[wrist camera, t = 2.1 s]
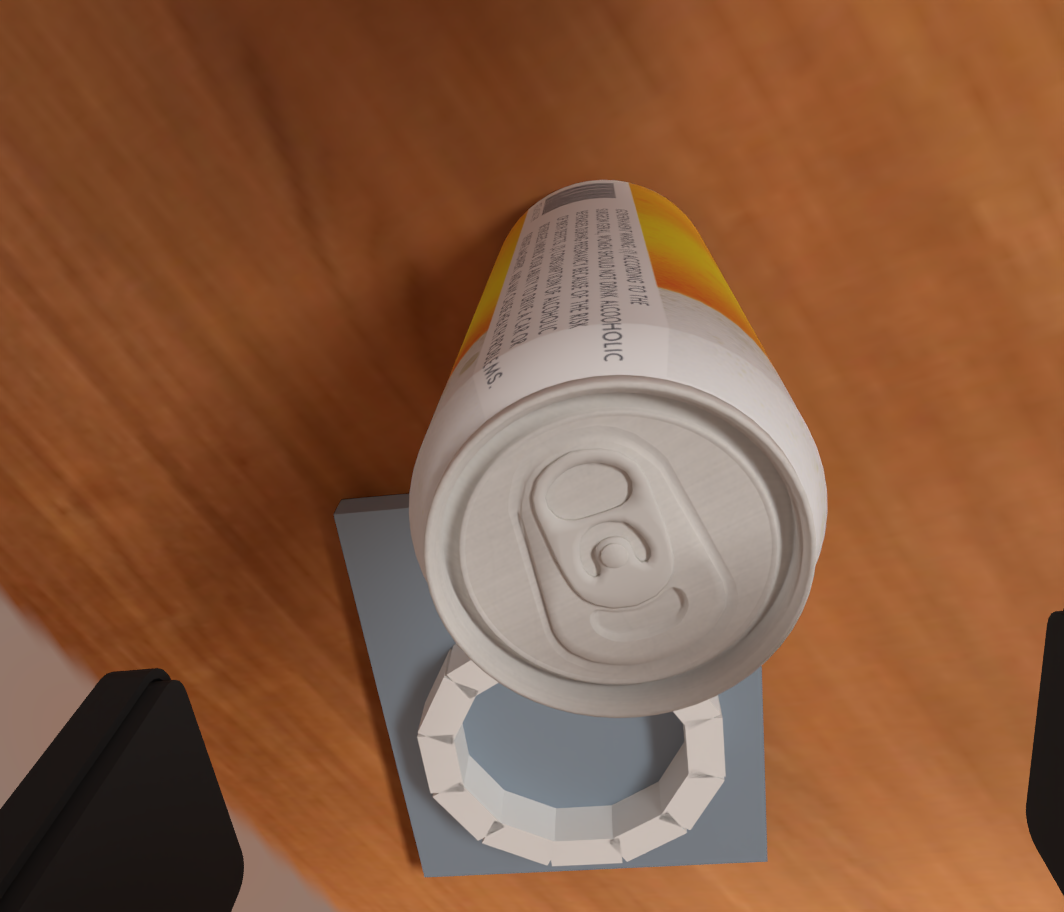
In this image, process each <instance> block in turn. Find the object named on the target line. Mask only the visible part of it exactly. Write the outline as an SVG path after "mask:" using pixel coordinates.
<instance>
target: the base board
mask: <svg viewBox="0 0 1064 912" xmlns="http://www.w3.org/2000/svg"><path fill="white" fill-rule="evenodd" d="M334 519H335V523H336V527H337V531H338V535H339V539H340V543H341V546H342V550H343V554H344V558H345V562H346V566H347V570H348V574H349V578H350V582H351V586H352V590H353V594H354V598H355V602H356V606H357V610H358V614H359V618H360V622H361V626H362V630H363V634H364V638H365V642H366V646H367V650H368V654H369V658H370V662H371V666H372V670H373V674H374V678H375V682H376V686H377V690H378V694H379V698H380V702H381V706H382V709H383V713H384V717H385V721H386V725H387V729H388V733H389V737H390V741H391V745H392V749H393V753H394V757H395V761H396V765H397V769H398V773H399V777H400V781H401V785H402V789H403V793H404V797H405V801H406V805H407V809H408V813H409V817H410V821H411V825H412V829H413V833H414V837H415V841H416V845H417V849H418V853H419V857H420V861H421V865H422V868H423V872H424V876H425V877H442V876H464V875H485V874H507V873H529V872H550V871H572V870H593V869H615V868H637V867H658V866H680V865H701V864H723V863H745V862H766V861H767V831H766V799H765V766H764V733H763V700H762V667H761V666H760V667H759V668H758V669H757V670H756V671H754V672H753V673H752V674H751V675H749V676H748V677H747V678H745V679H744V680H742V681H741V682H739V683H738V684H737V685H735V686H733V687H732V688H730V689H728V690H726V691H724V692H722V693H721V694H719V695H717V696H715V697H713V698H710V699H708V700H706V701H703V702H701V703H699V704H696V705H693V706H689V707H686V708H683V709H680V710H677V711H672V712H668V713H663V714H658V715H651V716H643V717H631V718H608V717H593V716H587V715H580V714H574V713H570V712H566V711H562V710H558V709H554V708H551V707H548V706H545V705H542V704H540V703H537V702H534V701H532V700H530V699H528V698H525V697H523V696H521V695H519V694H517V693H515V692H513V691H512V690H510V689H508V688H507V687H505V686H503V685H502V684H500V683H498V682H497V681H496V680H494V679H493V678H492V677H490V676H489V675H488V674H486V673H485V672H484V671H482V670H481V669H480V668H479V667H478V666H477V665H476V664H475V663H474V662H473V661H471V660H470V659H469V658H468V656H467V655H466V654H465V653H464V652H463V651H462V650H461V648H460V647H459V646H458V645H457V644H456V642H455V641H454V640H453V638H452V637H451V635H450V634H449V632H448V631H447V629H446V628H445V626H444V624H443V622H442V620H441V618H440V617H439V615H438V613H437V611H436V608H435V605H434V603H433V600H432V597H431V595H430V591H429V587H428V583H427V581H426V579H425V578H424V576H423V573H422V571H421V568H420V565H419V563H418V560H417V557H416V554H415V550H414V546H413V541H412V537H411V530H410V521H409V494H398V495H388V496H377V497H366V498H355V499H344V500H341V501H340V503H339V505H338V507H337V509H336V511H335V513H334Z"/></svg>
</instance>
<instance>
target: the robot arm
mask: <svg viewBox="0 0 1064 912" xmlns="http://www.w3.org/2000/svg"><path fill="white" fill-rule="evenodd" d="M1026 817H1027V824H1028V828H1029V832H1030V835H1031V837H1032V840H1033V842H1034V844H1035V846H1036V848H1037V850H1038V852H1039V854H1040V855H1041V857H1042V859H1043V861H1044V862H1045V864H1046V866H1047V867H1048V869H1049V871H1050V873H1051V874H1052V876H1053V878H1054V880H1055V881H1056V883H1057V885H1058V887H1059V888H1060V890H1061V892H1062V894H1063V895H1064V610H1063V611H1055V612H1053V613H1052V614H1051V615H1050V617H1049V619H1048V623H1047V630H1046V639H1045V647H1044V656H1043V665H1042V673H1041V682H1040V691H1039V699H1038V708H1037V716H1036V725H1035V734H1034V742H1033V751H1032V760H1031V768H1030V777H1029V785H1028V794H1027V803H1026ZM243 872H244V861H243V855H242V851H241V848H240V845H239V842H238V840H237V837H236V834H235V831H234V828H233V825H232V822H231V819H230V816H229V813H228V810H227V807H226V805H225V802H224V799H223V796H222V793H221V790H220V787H219V784H218V782H217V779H216V776H215V773H214V770H213V767H212V764H211V761H210V758H209V756H208V753H207V750H206V747H205V744H204V741H203V738H202V735H201V732H200V730H199V727H198V724H197V721H196V718H195V715H194V712H193V709H192V706H191V704H190V701H189V698H188V695H187V692H186V690H185V688H184V686H183V684H182V683H181V682H180V681H177V680H171V679H170V677H169V675H168V674H167V673H166V672H165V671H164V670H162V669H158V668H155V669H142V670H130V671H117V672H111V673H108V674H106V675H105V676H104V677H103V678H102V679H100V681H99V682H98V683H97V685H96V686H95V687H94V688H93V690H92V691H91V692H90V694H89V695H88V696H87V697H86V699H85V700H84V701H83V703H82V704H81V705H80V707H79V708H78V709H77V710H76V712H75V713H74V714H73V716H72V717H71V718H70V720H69V721H68V722H67V723H66V725H65V726H64V727H63V729H62V730H61V731H60V733H59V734H58V735H57V737H56V738H55V739H54V740H53V742H52V743H51V744H50V746H49V747H48V748H47V750H46V751H45V752H44V753H43V755H42V756H41V757H40V759H39V760H38V761H37V762H36V764H35V765H34V766H33V768H32V769H31V770H30V771H29V773H28V774H27V775H26V777H25V778H24V779H23V781H22V782H21V783H20V784H19V786H18V787H17V788H16V790H15V791H14V792H13V794H12V795H11V796H10V798H9V799H8V800H7V801H6V803H5V804H4V805H3V807H2V808H1V809H0V912H231V910H232V908H233V906H234V903H235V901H236V898H237V896H238V893H239V891H240V887H241V884H242V880H243Z"/></svg>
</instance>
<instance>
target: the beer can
mask: <svg viewBox="0 0 1064 912" xmlns="http://www.w3.org/2000/svg"><path fill="white" fill-rule="evenodd" d="M826 520H827V489H826V482H825V476H824V469H823V466H822V463H821V459H820V456H819V453H818V449H817V447H816V445H815V442H814V440H813V438H812V436H811V434H810V431H809V429H808V427H807V425H806V423H805V422H804V420H803V418H802V416H801V414H800V413H799V411H798V409H797V407H796V406H795V404H794V402H793V400H792V398H791V397H790V395H789V393H788V391H787V390H786V388H785V386H784V384H783V382H782V381H781V379H780V377H779V375H778V373H777V372H776V370H775V368H774V366H773V365H772V363H771V361H770V359H769V357H768V356H767V354H766V352H765V350H764V348H763V347H762V345H761V343H760V341H759V340H758V338H757V336H756V334H755V332H754V331H753V329H752V327H751V325H750V323H749V322H748V320H747V318H746V316H745V315H744V313H743V311H742V309H741V307H740V306H739V304H738V302H737V300H736V298H735V297H734V295H733V293H732V291H731V290H730V288H729V286H728V284H727V282H726V281H725V279H724V277H723V275H722V274H721V272H720V270H719V268H718V266H717V265H716V263H715V261H714V259H713V257H712V256H711V254H710V252H709V250H708V249H707V247H706V245H705V243H704V241H703V240H702V238H701V236H700V234H699V233H698V231H697V230H696V228H695V226H694V225H693V224H692V222H691V221H690V220H689V219H688V217H687V216H686V215H685V214H684V213H683V212H682V211H681V210H680V209H679V208H678V207H677V206H676V205H674V204H673V203H672V202H670V201H669V200H668V199H666V198H665V197H663V196H661V195H660V194H658V193H656V192H654V191H652V190H650V189H647V188H645V187H643V186H640V185H636V184H633V183H629V182H623V181H617V180H594V181H586V182H581V183H576V184H573V185H570V186H567V187H564V188H561V189H559V190H557V191H555V192H553V193H551V194H549V195H548V196H546V197H544V198H543V199H541V200H540V201H538V202H537V203H536V204H534V205H533V206H532V207H531V208H530V209H528V210H527V211H526V212H525V213H524V214H523V215H522V217H521V218H520V219H519V220H518V221H517V222H516V224H515V225H514V226H513V228H512V229H511V230H510V232H509V234H508V236H507V237H506V239H505V241H504V243H503V245H502V247H501V250H500V252H499V254H498V257H497V259H496V262H495V264H494V267H493V269H492V272H491V274H490V277H489V279H488V282H487V284H486V287H485V289H484V291H483V294H482V296H481V299H480V301H479V304H478V306H477V309H476V311H475V314H474V316H473V319H472V321H471V324H470V326H469V329H468V331H467V334H466V336H465V339H464V341H463V344H462V346H461V349H460V351H459V353H458V356H457V358H456V361H455V363H454V366H453V368H452V371H451V373H450V376H449V378H448V381H447V383H446V386H445V388H444V391H443V393H442V396H441V398H440V401H439V403H438V406H437V408H436V411H435V413H434V415H433V418H432V420H431V423H430V425H429V428H428V430H427V433H426V435H425V438H424V440H423V443H422V445H421V448H420V450H419V453H418V457H417V460H416V463H415V467H414V470H413V474H412V480H411V487H410V493H409V521H410V530H411V537H412V541H413V546H414V550H415V554H416V557H417V560H418V563H419V565H420V568H421V571H422V573H423V576H424V578H425V579H426V581H427V583H428V587H429V591H430V595H431V597H432V600H433V603H434V605H435V608H436V611H437V613H438V615H439V617H440V618H441V620H442V622H443V624H444V626H445V628H446V629H447V631H448V632H449V634H450V635H451V637H452V638H453V640H454V641H455V642H456V644H457V645H458V646H459V647H460V648H461V650H462V651H463V652H464V653H465V654H466V655H467V656H468V658H469V659H470V660H471V661H473V662H474V663H475V664H476V665H477V666H478V667H479V668H480V669H481V670H482V671H484V672H485V673H486V674H488V675H489V676H490V677H492V678H493V679H494V680H496V681H497V682H498V683H500V684H502V685H503V686H505V687H507V688H508V689H510V690H512V691H513V692H515V693H517V694H519V695H521V696H523V697H525V698H528V699H530V700H532V701H534V702H537V703H540V704H542V705H545V706H548V707H551V708H554V709H558V710H562V711H566V712H570V713H574V714H580V715H587V716H593V717H608V718H631V717H643V716H651V715H658V714H663V713H668V712H672V711H677V710H680V709H683V708H686V707H689V706H693V705H696V704H699V703H701V702H703V701H706V700H708V699H710V698H713V697H715V696H717V695H719V694H721V693H722V692H724V691H726V690H728V689H730V688H732V687H733V686H735V685H737V684H738V683H739V682H741V681H742V680H744V679H745V678H747V677H748V676H749V675H751V674H752V673H753V672H754V671H756V670H757V669H758V668H759V667H760V666H761V665H763V664H764V663H765V662H766V661H767V660H768V659H769V658H770V657H771V656H772V655H773V654H774V652H775V651H776V650H777V649H778V648H779V647H780V646H781V645H782V643H783V642H784V640H785V639H786V638H787V636H788V635H789V634H790V632H791V631H792V629H793V628H794V626H795V624H796V622H797V620H798V619H799V617H800V615H801V613H802V611H803V608H804V606H805V603H806V601H807V598H808V596H809V593H810V589H811V585H812V581H813V577H814V571H815V565H816V563H817V560H818V558H819V555H820V551H821V547H822V543H823V539H824V536H825V528H826Z"/></svg>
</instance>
